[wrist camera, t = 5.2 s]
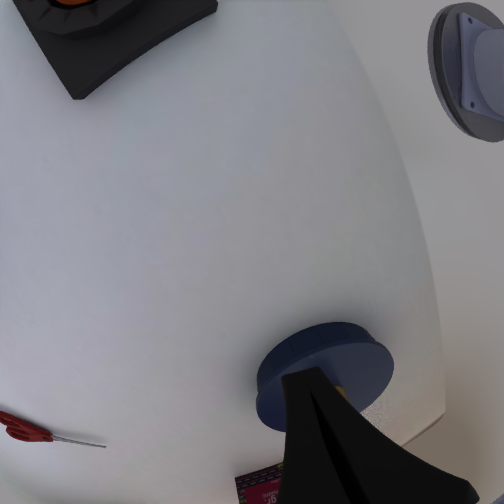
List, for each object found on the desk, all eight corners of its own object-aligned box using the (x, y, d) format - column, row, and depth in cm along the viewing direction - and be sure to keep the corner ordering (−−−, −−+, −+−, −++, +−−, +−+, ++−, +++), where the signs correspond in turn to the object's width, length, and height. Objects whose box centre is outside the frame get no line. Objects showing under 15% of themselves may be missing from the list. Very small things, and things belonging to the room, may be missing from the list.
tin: (386, 312, 22) (401, 331, 20) (359, 392, 27) (368, 410, 25) (256, 332, 21) (263, 356, 19) (256, 412, 26) (261, 434, 23)
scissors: (-7, 407, 21) (-9, 413, 21) (100, 431, 24) (99, 439, 23) (12, 432, 24) (10, 438, 23) (111, 453, 27) (111, 460, 26)
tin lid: (404, 319, 21) (434, 358, 17) (369, 407, 26) (386, 441, 22) (253, 345, 19) (267, 399, 15) (254, 431, 24) (263, 472, 20)
